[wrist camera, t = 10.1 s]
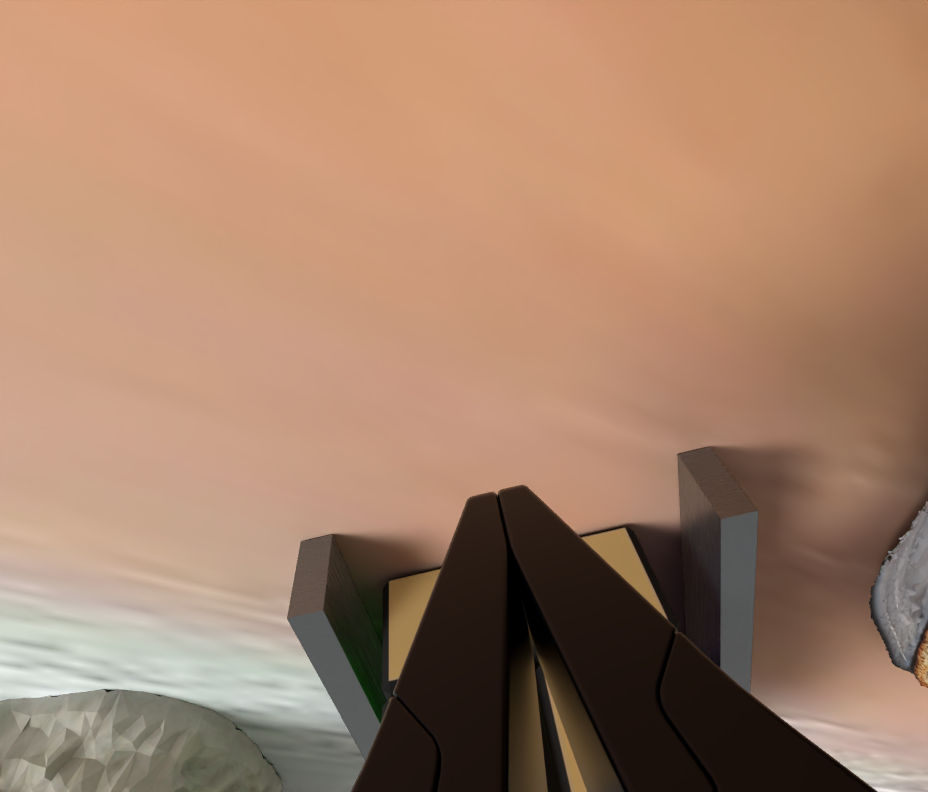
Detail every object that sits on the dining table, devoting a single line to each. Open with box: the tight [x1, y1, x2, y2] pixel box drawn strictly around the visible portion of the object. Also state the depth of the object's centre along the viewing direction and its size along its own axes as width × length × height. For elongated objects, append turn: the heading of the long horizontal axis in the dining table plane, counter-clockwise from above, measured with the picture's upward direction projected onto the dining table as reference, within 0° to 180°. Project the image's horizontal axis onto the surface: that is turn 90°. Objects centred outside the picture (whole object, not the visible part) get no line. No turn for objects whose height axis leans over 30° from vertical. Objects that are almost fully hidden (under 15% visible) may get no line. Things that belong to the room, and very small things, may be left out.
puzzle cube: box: [382, 527, 678, 792], centre depth 23 cm, size 10×10×10 cm
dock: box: [287, 447, 758, 760], centre depth 25 cm, size 15×14×4 cm
